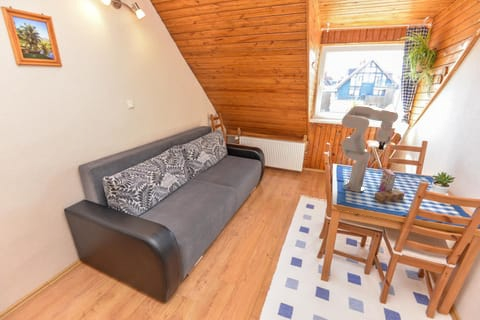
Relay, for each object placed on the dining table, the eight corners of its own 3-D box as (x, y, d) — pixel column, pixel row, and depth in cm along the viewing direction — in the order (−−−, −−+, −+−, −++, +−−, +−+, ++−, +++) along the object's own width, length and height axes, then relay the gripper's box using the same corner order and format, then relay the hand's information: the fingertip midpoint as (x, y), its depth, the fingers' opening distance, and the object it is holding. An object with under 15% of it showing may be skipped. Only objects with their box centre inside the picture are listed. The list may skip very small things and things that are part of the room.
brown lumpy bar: (381, 203, 152) (382, 196, 150) (373, 198, 157) (375, 192, 156) (402, 199, 157) (404, 193, 156) (395, 195, 163) (397, 189, 161)
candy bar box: (378, 188, 173) (383, 168, 167) (385, 189, 171) (390, 169, 166) (383, 194, 162) (388, 174, 157) (390, 195, 161) (396, 175, 156)
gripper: (374, 125, 178) (369, 146, 184) (389, 128, 164) (383, 152, 170) (383, 124, 179) (377, 146, 185) (398, 128, 165) (392, 152, 171)
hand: (380, 149), depth 178 cm, fingers closed
